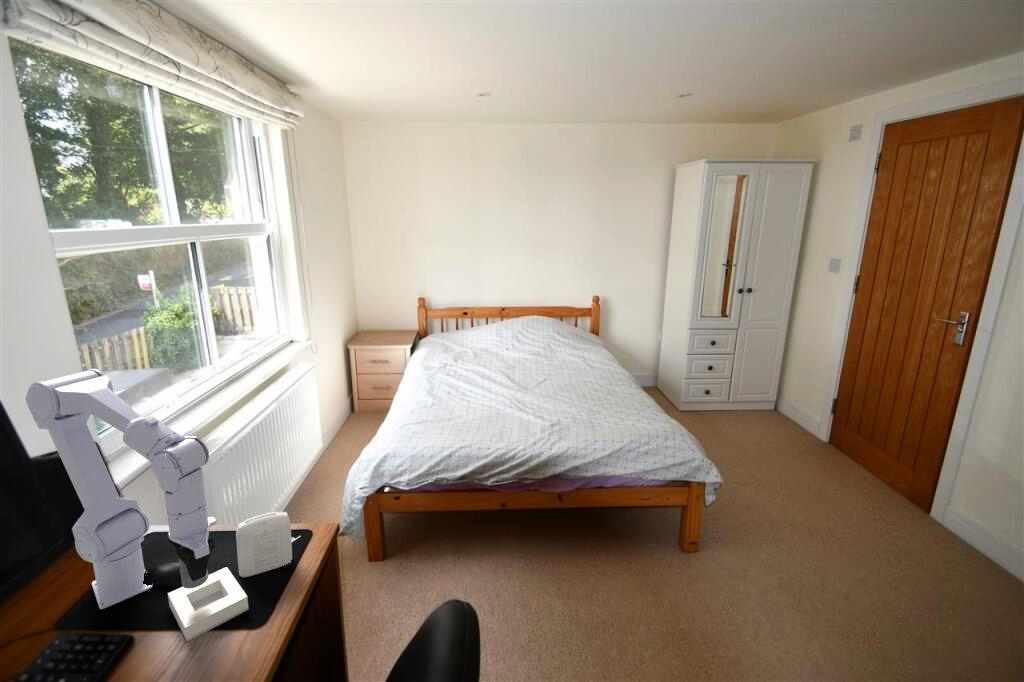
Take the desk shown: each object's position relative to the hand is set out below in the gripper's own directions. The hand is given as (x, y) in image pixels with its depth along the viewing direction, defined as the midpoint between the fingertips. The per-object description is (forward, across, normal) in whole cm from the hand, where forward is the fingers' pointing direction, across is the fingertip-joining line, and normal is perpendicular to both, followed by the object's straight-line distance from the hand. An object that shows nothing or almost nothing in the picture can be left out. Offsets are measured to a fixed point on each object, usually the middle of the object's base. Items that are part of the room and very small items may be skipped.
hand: (194, 571), depth 85 cm
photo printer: (+9, +4, -13) cm, 17 cm away
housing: (+9, 0, -1) cm, 9 cm away
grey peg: (+2, 0, 0) cm, 2 cm away
